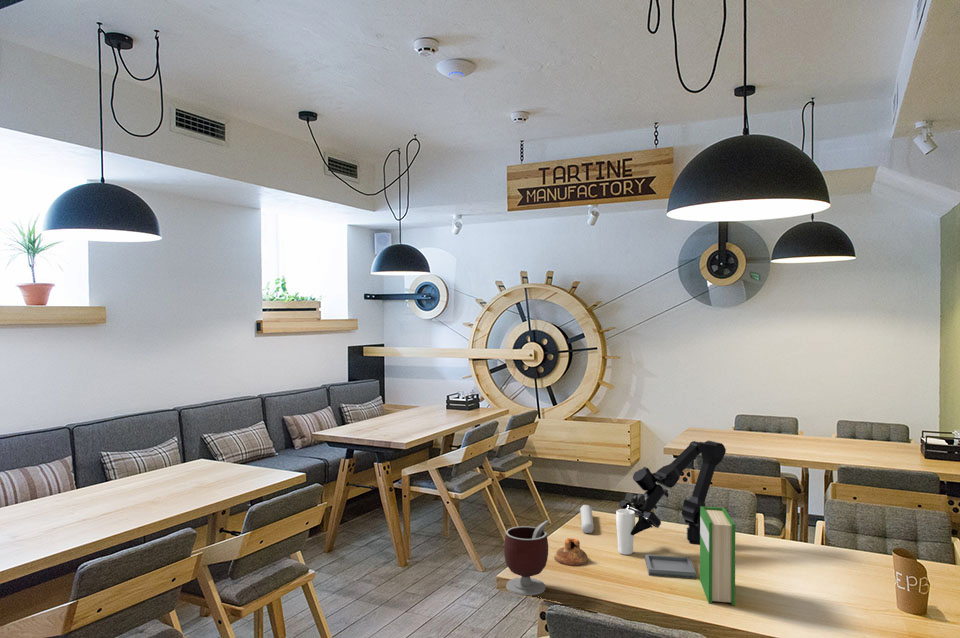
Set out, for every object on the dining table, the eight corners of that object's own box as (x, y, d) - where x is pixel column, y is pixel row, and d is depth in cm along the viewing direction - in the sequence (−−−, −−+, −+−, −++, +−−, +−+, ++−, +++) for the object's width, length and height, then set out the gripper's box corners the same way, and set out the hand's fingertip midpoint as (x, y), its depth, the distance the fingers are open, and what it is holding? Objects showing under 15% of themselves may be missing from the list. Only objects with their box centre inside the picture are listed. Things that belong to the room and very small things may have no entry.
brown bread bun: (586, 554, 228) (586, 534, 228) (589, 567, 216) (589, 546, 216) (553, 553, 229) (554, 533, 229) (554, 565, 217) (554, 544, 217)
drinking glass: (636, 551, 231) (636, 510, 232) (632, 557, 225) (633, 515, 225) (618, 548, 234) (618, 507, 234) (613, 554, 228) (614, 512, 228)
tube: (596, 525, 249) (594, 507, 274) (583, 520, 250) (582, 502, 275) (592, 538, 249) (589, 518, 274) (579, 533, 250) (578, 514, 275)
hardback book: (735, 606, 186) (735, 524, 187) (708, 603, 188) (709, 522, 188) (723, 582, 204) (724, 507, 204) (699, 580, 205) (700, 506, 205)
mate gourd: (518, 600, 189) (518, 533, 189) (495, 583, 201) (496, 520, 202) (560, 590, 196) (561, 525, 196) (536, 574, 208) (537, 514, 209)
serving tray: (689, 563, 220) (689, 557, 220) (696, 578, 206) (696, 572, 206) (645, 560, 223) (645, 554, 223) (648, 575, 209) (648, 569, 209)
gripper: (622, 478, 241) (598, 510, 236) (654, 490, 224) (628, 525, 219) (639, 497, 244) (615, 529, 239) (672, 510, 227) (646, 545, 222)
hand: (625, 531), depth 230 cm, fingers closed on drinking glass, 6 cm apart
